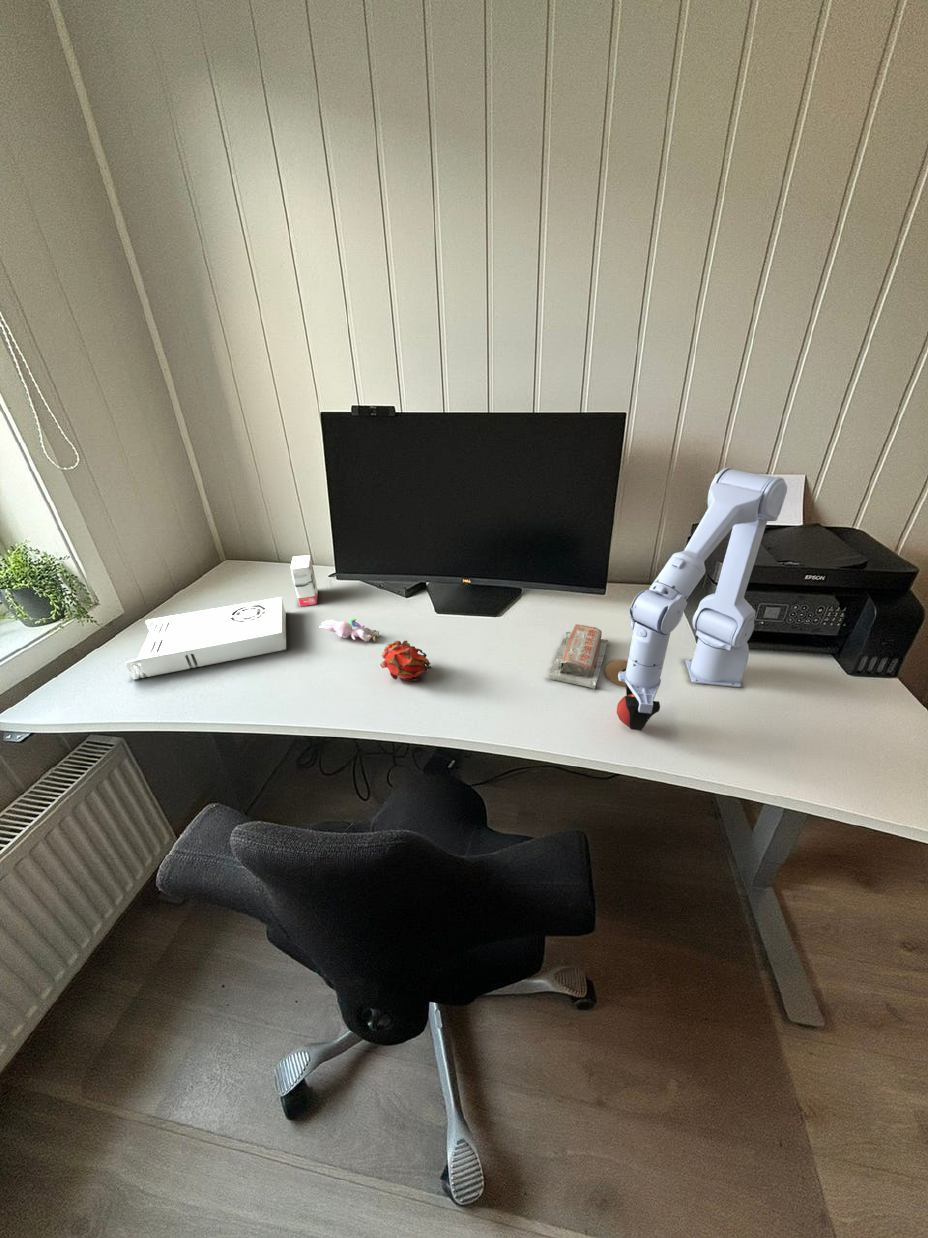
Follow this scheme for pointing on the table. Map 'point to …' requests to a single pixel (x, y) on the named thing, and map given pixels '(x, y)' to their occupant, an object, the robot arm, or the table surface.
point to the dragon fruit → (404, 661)
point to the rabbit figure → (349, 629)
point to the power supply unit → (211, 637)
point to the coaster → (615, 671)
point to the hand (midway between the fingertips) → (634, 716)
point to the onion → (623, 711)
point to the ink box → (304, 580)
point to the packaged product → (579, 657)
